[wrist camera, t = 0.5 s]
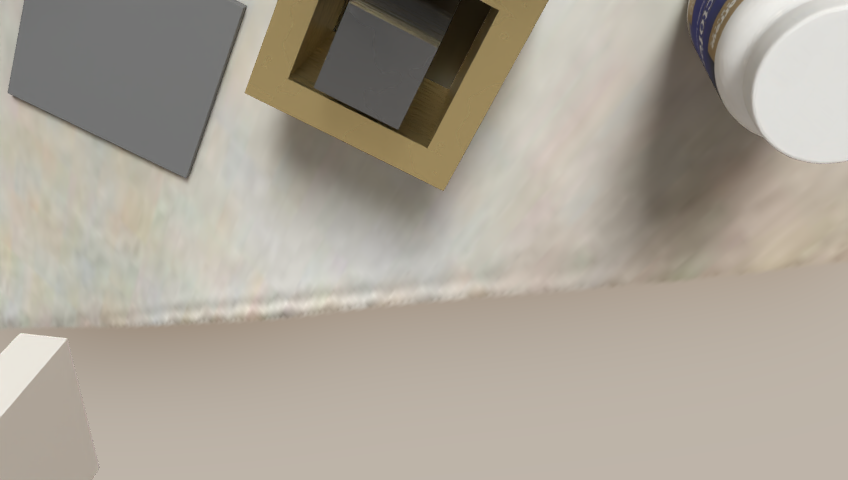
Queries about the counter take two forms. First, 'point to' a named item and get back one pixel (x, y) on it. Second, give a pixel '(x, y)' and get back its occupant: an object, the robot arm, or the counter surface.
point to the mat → (128, 69)
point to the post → (384, 54)
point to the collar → (432, 105)
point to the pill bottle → (780, 70)
